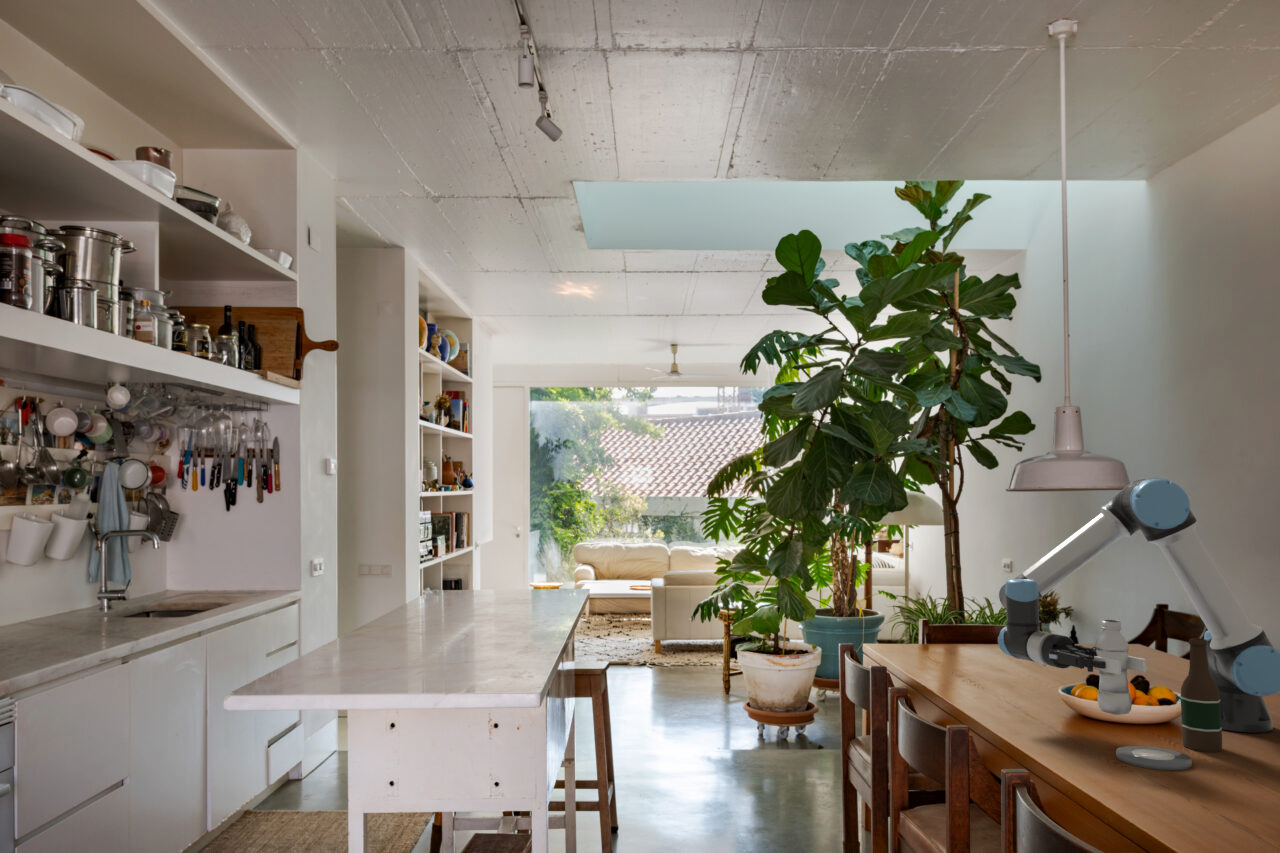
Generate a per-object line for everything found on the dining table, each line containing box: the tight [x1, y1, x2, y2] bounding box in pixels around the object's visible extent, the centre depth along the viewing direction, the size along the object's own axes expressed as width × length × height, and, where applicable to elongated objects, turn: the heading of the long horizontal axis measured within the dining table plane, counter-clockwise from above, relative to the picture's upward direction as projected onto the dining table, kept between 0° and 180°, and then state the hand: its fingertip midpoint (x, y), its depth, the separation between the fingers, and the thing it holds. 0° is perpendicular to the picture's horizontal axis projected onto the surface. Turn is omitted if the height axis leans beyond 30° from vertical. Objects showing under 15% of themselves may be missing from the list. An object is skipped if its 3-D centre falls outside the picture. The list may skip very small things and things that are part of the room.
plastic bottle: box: [1094, 619, 1133, 716], centre depth 201 cm, size 6×7×20 cm
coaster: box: [1115, 745, 1193, 771], centre depth 196 cm, size 14×14×1 cm
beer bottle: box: [1180, 637, 1223, 753], centre depth 207 cm, size 8×8×24 cm
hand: (1132, 666), depth 196 cm, fingers closed on plastic bottle, 6 cm apart
